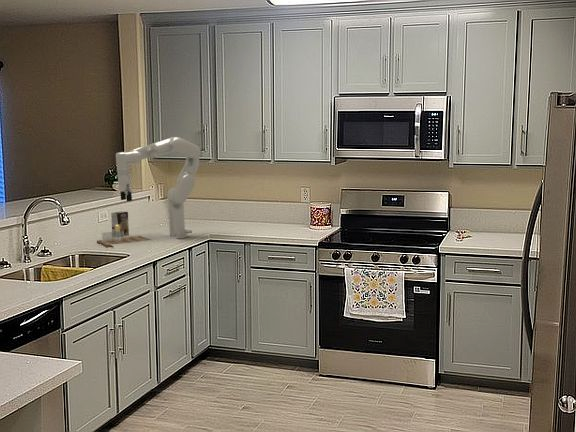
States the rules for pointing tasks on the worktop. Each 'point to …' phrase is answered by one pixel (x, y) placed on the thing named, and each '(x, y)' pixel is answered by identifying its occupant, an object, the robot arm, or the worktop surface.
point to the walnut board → (126, 240)
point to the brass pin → (117, 228)
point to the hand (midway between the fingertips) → (126, 200)
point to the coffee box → (120, 221)
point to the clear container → (113, 236)
